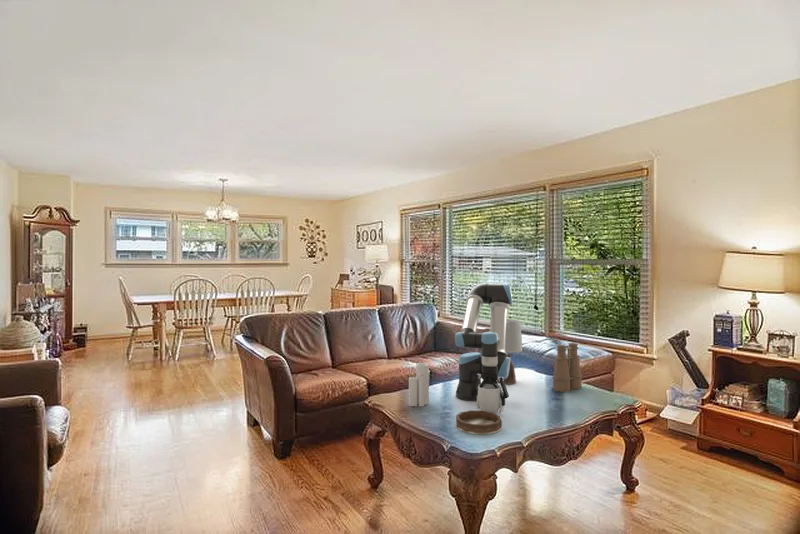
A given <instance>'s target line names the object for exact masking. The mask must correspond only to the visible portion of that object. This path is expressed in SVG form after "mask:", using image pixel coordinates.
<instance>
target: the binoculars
mask: <svg viewBox="0 0 800 534" xmlns="http://www.w3.org/2000/svg"><path fill="white" fill-rule="evenodd" d="M578 345H579V343H578V342H577V343H576V342H568V347H567V345H566V344H557V345H556V347H557V348H556V351H557V352H556V353H557V356H556V357H555V358H554V359H555V363H554V368H553V369H554V370H553V376H552V377H551V379H552V390H553V391H556V392H559V391H560V392H561V393H566V392H567V393H568V392H571V389H572V390H575V389H576V390H579V389H582V378H583V375H582V370H581V364H580V356H579V355H578V349H579V347H578ZM566 352H567V353H566Z"/></svg>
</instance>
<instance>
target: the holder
mask: <svg viewBox="0 0 800 534" xmlns="http://www.w3.org/2000/svg"><path fill="white" fill-rule="evenodd" d="M455 420H456V421H455V427H456V429H458V430H460V431H461V432H463V431H464V432H463V433H466V434H471V435H492V434H495V433H498V432H500V431H501V430H502V429H503V428H502V424H503V423H502V418H501V416H500V415H499V414H498V413H497V414H494V413H492V412H487V411H481V410H466V411H461V412H459V413H457V414H456V415H455Z"/></svg>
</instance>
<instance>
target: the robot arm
mask: <svg viewBox="0 0 800 534" xmlns="http://www.w3.org/2000/svg"><path fill="white" fill-rule="evenodd" d="M511 287H512V286H511V285H510V284H508V283H485V282H484V283H483V282H482V283H479V284H477V285H475V286H474V287H473V288H472V289H470V290H469V292H468V293H467V296H466V299H465V301H466V308H465V312H464V317H463V321H462V326H461V330H460V331H458V332H456V333H455V335H454V344H455V346H456V347H457V348H463V349H465V348H469V349H481V352H476V351H475V352H473V351H472V352H466V353H462V354H461V355H460V356H459V359H458V385H457V387H456V391H455V397H456V398H457V399H460V400H462V401H475V402H476V410H479V409H480V406H479V401H478V385H479V384H480V388H483V386H484V385H485V384H490V385H493V386H494V387H495V389H498V388H500V387H499V384H500V386H501V391H500V397H501V399H500V408H499V413H500V414H502V413H503V412H504V406H505V405H506V399H508V398H509V397H510V394H509V391H508V389H507V384H505V382H504V379H506V378H507V377H508V374H509V369H510V358H509V357H508V354H507V353H506V352H505V337H506V319H507V312H508V310H509V309H510V305H513V295H512V288H511ZM484 304H486V305H488V307H489V309H490V320H489V321H490V322H489V323H490V324H489V331H484V332H482V333H481V332H479V333H478V332H477V327H478V322H479V319H480V318H479V317H480V312H481V307H483V305H484ZM497 380H499V381H500V383H498V382H497Z"/></svg>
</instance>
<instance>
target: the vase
mask: <svg viewBox="0 0 800 534" xmlns="http://www.w3.org/2000/svg"><path fill="white" fill-rule="evenodd" d="M418 404H419V405H418ZM426 404H428V405H429V404H430V364H429V363H426V362H425V363H424V362H420V363H416V364H415V376H410V377H408V406H409V407H411V406H415V407H419V406H423V407H424V406H427V405H426ZM417 405H418V406H417Z"/></svg>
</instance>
